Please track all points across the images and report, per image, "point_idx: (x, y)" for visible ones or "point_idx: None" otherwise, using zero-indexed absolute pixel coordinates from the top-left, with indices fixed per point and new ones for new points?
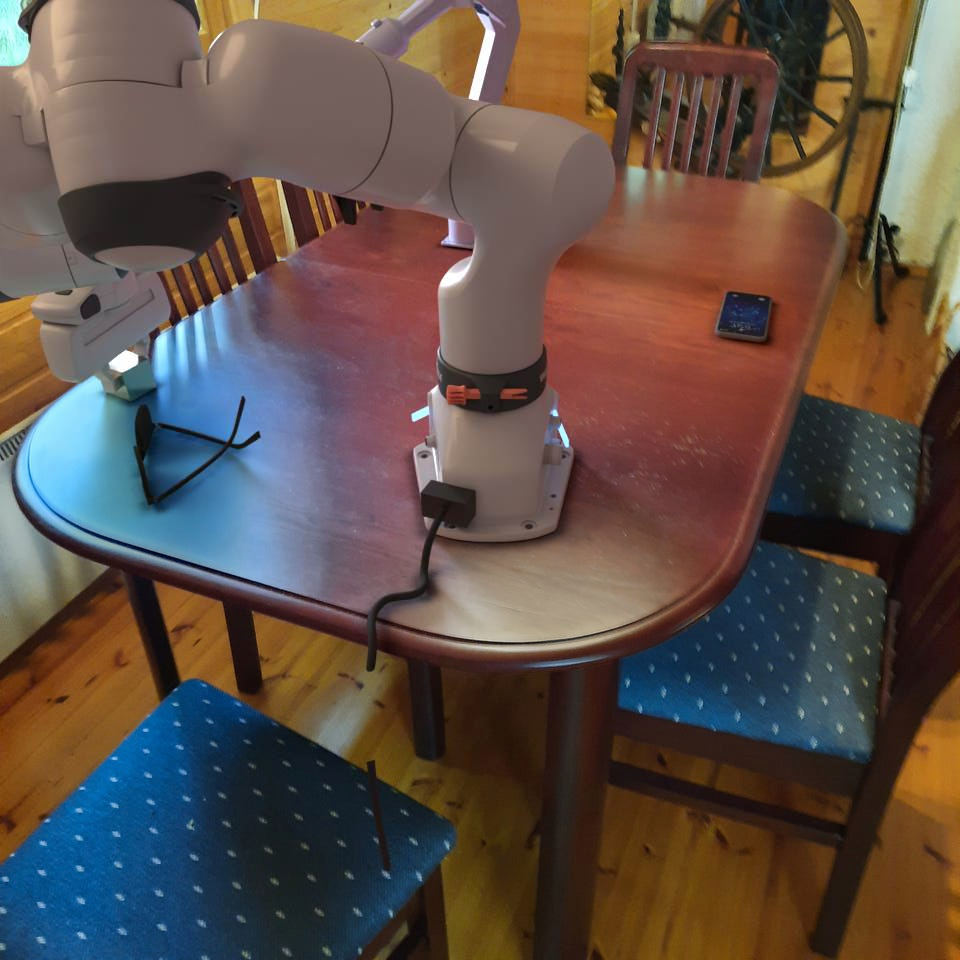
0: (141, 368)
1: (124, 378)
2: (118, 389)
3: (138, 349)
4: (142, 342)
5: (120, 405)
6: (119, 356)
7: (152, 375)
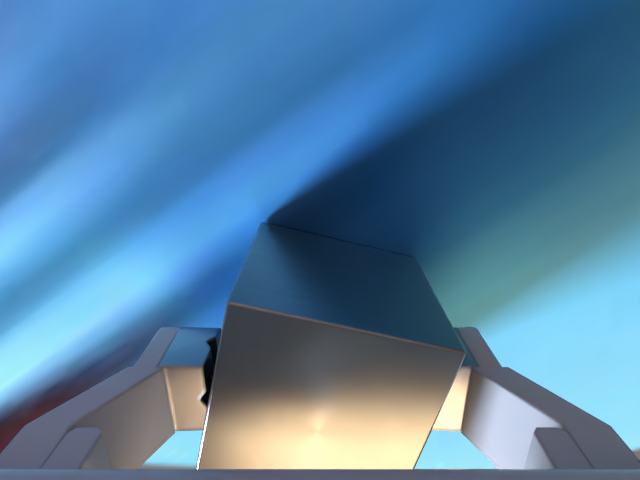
0: (313, 297)
1: (447, 325)
2: None
3: (141, 431)
4: (102, 444)
5: (451, 281)
6: None
7: (258, 248)
